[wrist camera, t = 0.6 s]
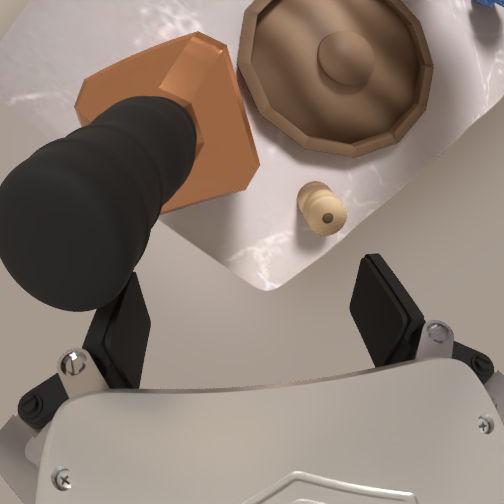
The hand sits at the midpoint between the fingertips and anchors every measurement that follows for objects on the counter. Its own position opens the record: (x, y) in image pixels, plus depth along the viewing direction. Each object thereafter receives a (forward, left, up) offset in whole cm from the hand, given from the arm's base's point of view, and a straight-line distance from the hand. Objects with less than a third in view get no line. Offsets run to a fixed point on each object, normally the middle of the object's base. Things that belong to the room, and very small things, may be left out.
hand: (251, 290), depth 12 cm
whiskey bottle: (-1, -7, -27) cm, 28 cm away
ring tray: (-17, +3, -27) cm, 32 cm away
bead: (0, +13, -27) cm, 30 cm away
